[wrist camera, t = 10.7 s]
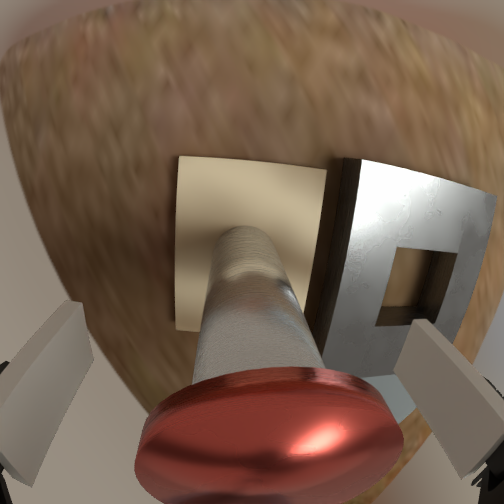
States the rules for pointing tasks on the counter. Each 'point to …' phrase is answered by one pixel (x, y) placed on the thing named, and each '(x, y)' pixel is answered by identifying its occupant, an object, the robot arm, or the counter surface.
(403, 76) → the counter surface
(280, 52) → the counter surface
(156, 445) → the red mushroom button
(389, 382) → the shower valve
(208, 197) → the birch pad
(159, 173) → the counter surface
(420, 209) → the eye plate
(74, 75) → the counter surface
